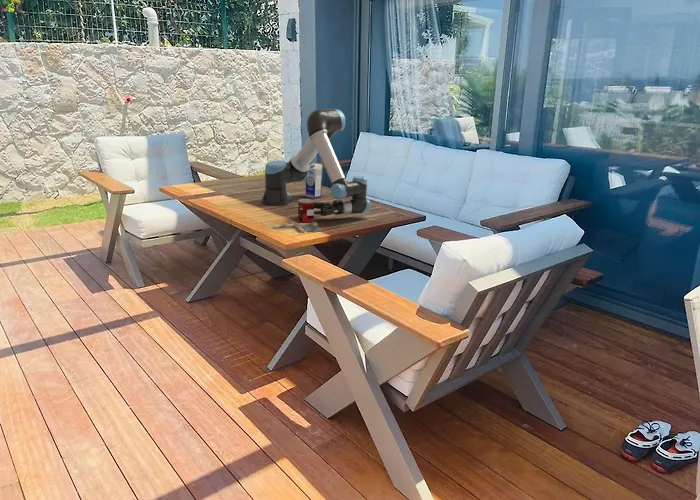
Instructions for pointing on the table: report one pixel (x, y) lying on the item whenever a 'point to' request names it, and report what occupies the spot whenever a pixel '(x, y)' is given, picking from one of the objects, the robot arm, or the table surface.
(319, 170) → the milk carton
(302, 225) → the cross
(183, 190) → the table surface
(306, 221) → the canned food
